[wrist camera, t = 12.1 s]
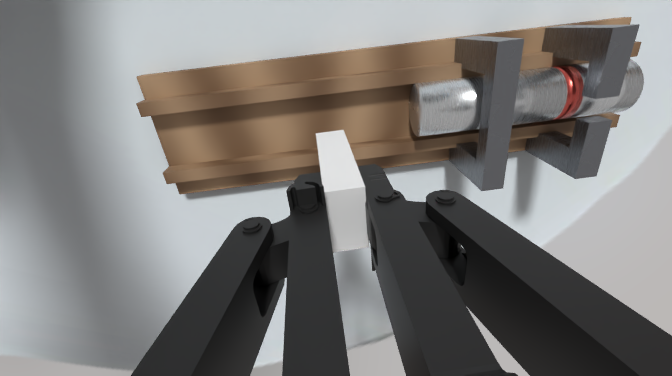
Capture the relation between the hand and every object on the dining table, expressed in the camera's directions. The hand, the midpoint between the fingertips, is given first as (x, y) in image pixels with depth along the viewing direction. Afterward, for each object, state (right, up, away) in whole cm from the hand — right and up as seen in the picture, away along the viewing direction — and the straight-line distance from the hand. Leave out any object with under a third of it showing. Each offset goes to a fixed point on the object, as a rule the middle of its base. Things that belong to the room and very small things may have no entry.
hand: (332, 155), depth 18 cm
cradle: (+5, +5, +10) cm, 12 cm away
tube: (+14, +6, +9) cm, 18 cm away
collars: (+14, +6, +9) cm, 18 cm away
